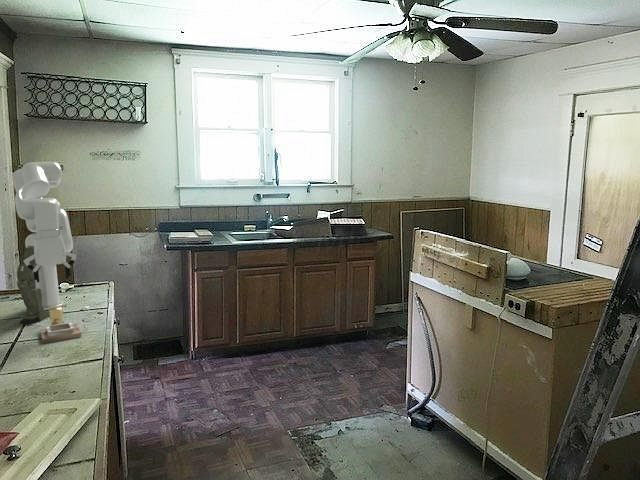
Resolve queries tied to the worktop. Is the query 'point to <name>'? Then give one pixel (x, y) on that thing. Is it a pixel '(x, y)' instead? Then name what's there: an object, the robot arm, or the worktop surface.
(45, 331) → the fitting board
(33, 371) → the worktop surface
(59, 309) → the cylinder
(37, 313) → the mechanical leg
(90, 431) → the worktop surface
